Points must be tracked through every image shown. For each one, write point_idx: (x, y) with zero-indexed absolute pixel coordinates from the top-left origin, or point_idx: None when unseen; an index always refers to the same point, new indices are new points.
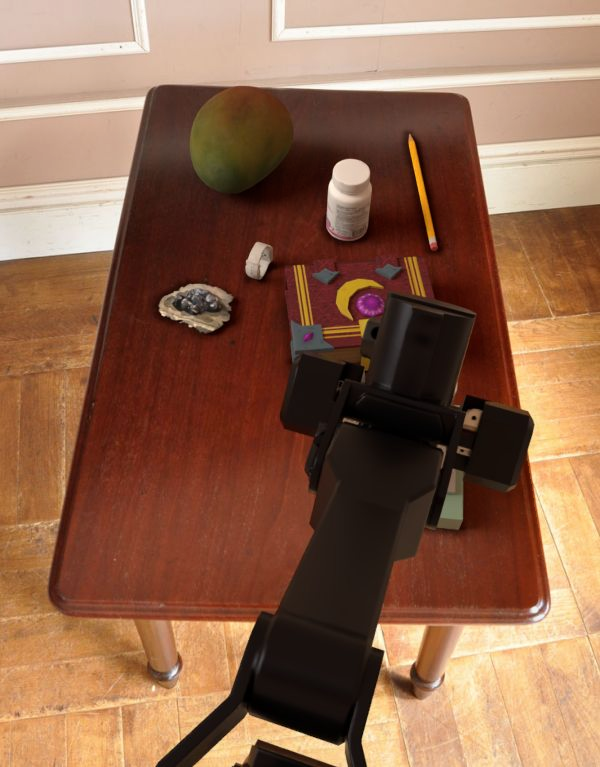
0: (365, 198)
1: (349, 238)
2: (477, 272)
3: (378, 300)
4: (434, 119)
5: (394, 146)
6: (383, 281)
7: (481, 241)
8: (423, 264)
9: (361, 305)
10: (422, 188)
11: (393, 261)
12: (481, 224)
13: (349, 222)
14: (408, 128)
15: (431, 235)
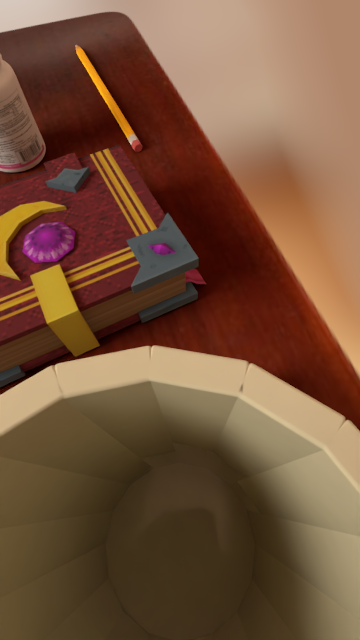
0: (4, 84)
1: (22, 165)
2: (202, 160)
3: (58, 229)
4: (99, 29)
5: (62, 61)
6: (64, 198)
7: (193, 125)
8: (122, 155)
9: (30, 248)
10: (103, 88)
11: (73, 163)
12: (186, 108)
13: (4, 137)
14: (73, 42)
15: (129, 133)
